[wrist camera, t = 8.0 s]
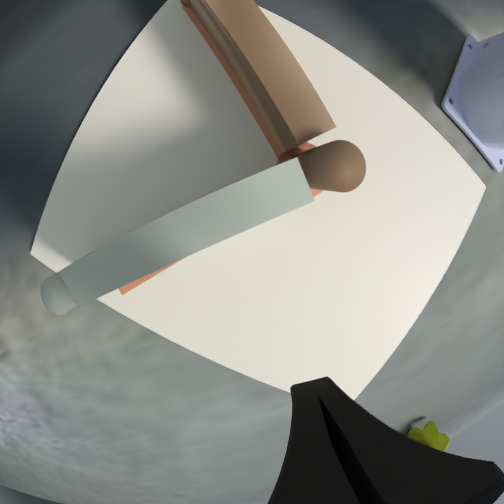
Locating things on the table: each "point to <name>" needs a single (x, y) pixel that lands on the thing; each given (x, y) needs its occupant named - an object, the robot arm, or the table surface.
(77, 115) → the table surface
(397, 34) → the table surface
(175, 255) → the fence gate
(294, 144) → the bar
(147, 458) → the table surface
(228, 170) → the board
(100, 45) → the table surface
